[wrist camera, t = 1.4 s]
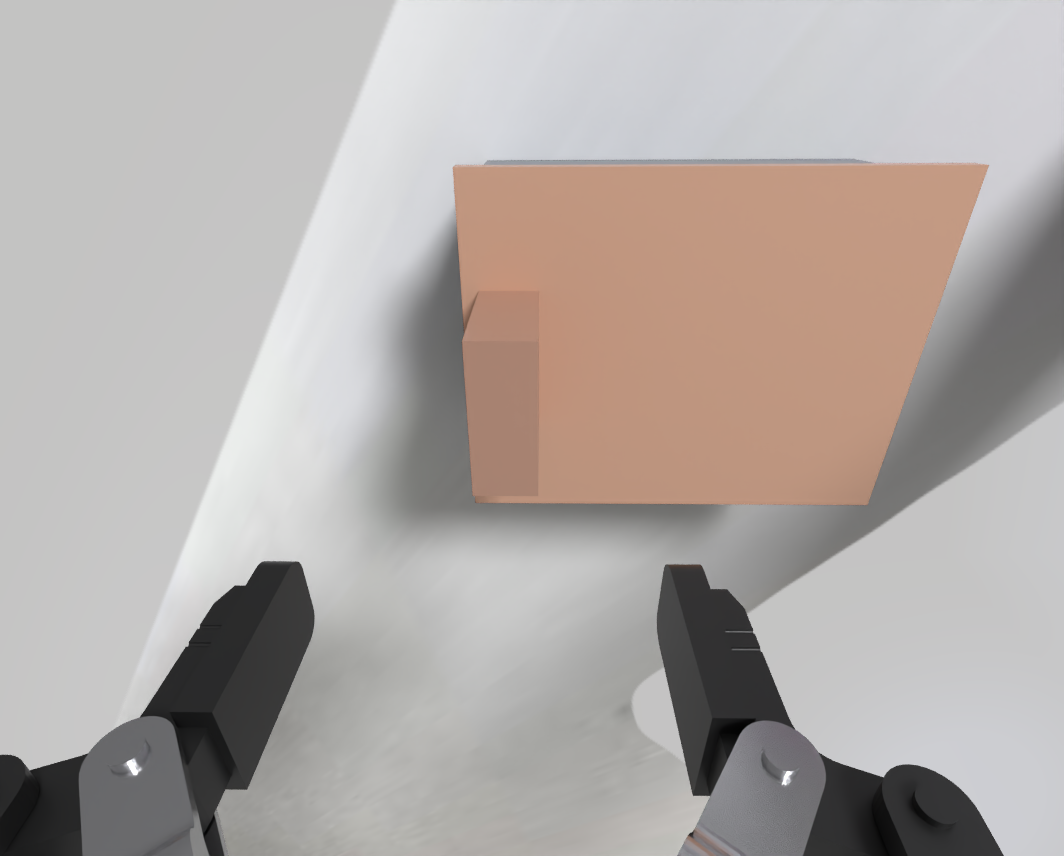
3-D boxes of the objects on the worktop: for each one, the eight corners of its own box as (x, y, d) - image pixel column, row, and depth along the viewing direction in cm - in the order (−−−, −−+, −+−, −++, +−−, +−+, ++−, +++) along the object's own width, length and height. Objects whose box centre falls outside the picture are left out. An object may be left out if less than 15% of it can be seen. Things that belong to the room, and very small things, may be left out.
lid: (948, 159, 22) (1127, 184, 15) (845, 477, 30) (935, 589, 23) (460, 161, 22) (425, 186, 16) (479, 476, 30) (461, 585, 23)
